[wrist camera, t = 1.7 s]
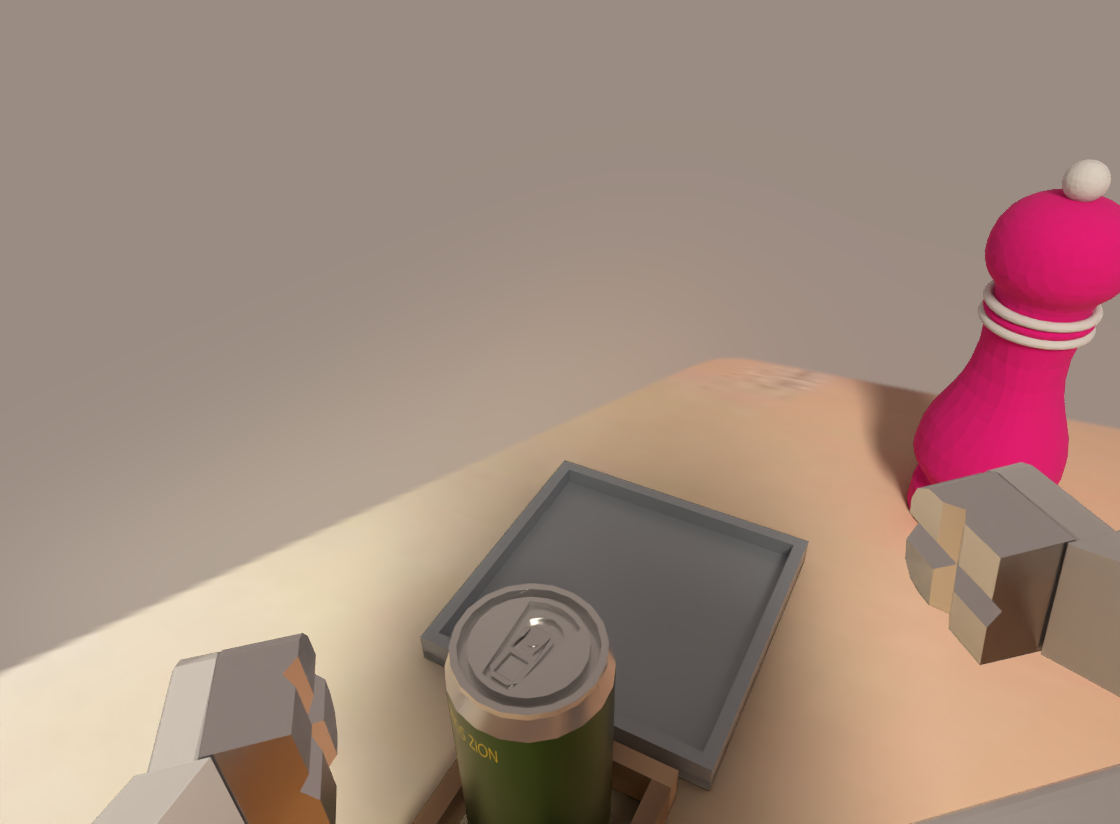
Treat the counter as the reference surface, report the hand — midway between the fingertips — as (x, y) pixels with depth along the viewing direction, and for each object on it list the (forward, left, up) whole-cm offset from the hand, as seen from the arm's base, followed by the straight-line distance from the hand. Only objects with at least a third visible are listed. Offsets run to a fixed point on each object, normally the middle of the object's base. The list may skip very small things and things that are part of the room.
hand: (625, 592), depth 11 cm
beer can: (-6, +7, -25) cm, 27 cm away
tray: (-8, +19, -25) cm, 32 cm away
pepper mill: (+6, +34, -25) cm, 42 cm away
